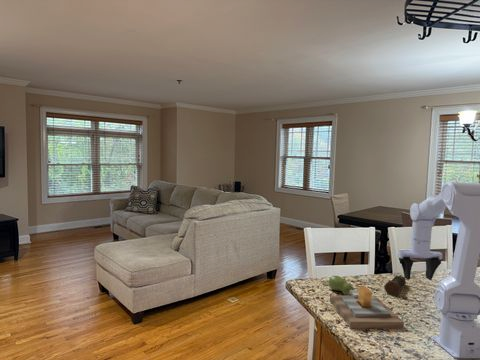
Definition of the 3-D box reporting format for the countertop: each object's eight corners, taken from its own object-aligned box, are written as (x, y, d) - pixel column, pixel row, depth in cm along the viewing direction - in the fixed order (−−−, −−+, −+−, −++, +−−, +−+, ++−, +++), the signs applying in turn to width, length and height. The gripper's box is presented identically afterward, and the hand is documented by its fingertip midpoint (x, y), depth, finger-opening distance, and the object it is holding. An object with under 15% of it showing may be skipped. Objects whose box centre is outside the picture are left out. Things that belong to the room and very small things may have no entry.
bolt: (402, 288, 131) (393, 299, 119) (391, 279, 134) (381, 289, 122) (411, 278, 129) (403, 288, 117) (400, 269, 132) (390, 278, 120)
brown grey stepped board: (403, 328, 96) (404, 315, 96) (350, 328, 95) (351, 314, 95) (374, 301, 114) (375, 290, 114) (329, 300, 113) (330, 289, 113)
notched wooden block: (370, 317, 102) (372, 292, 102) (362, 317, 102) (364, 292, 102) (363, 310, 107) (365, 286, 106) (356, 310, 107) (358, 286, 106)
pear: (335, 271, 126) (359, 284, 119) (332, 284, 127) (355, 297, 120) (327, 274, 123) (351, 287, 115) (324, 287, 124) (347, 301, 116)
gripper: (433, 237, 114) (430, 274, 115) (393, 236, 114) (391, 274, 115) (447, 242, 107) (444, 282, 108) (405, 241, 107) (402, 281, 108)
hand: (417, 278), depth 111 cm, fingers open, 7 cm apart
